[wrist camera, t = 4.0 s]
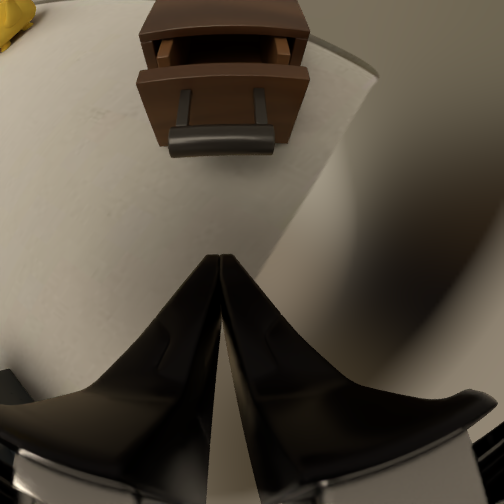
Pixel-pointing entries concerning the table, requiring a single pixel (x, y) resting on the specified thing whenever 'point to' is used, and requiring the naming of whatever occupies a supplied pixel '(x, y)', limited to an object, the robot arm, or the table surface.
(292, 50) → the cabinet
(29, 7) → the teapot
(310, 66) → the table surface
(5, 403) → the control block
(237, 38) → the drawer
